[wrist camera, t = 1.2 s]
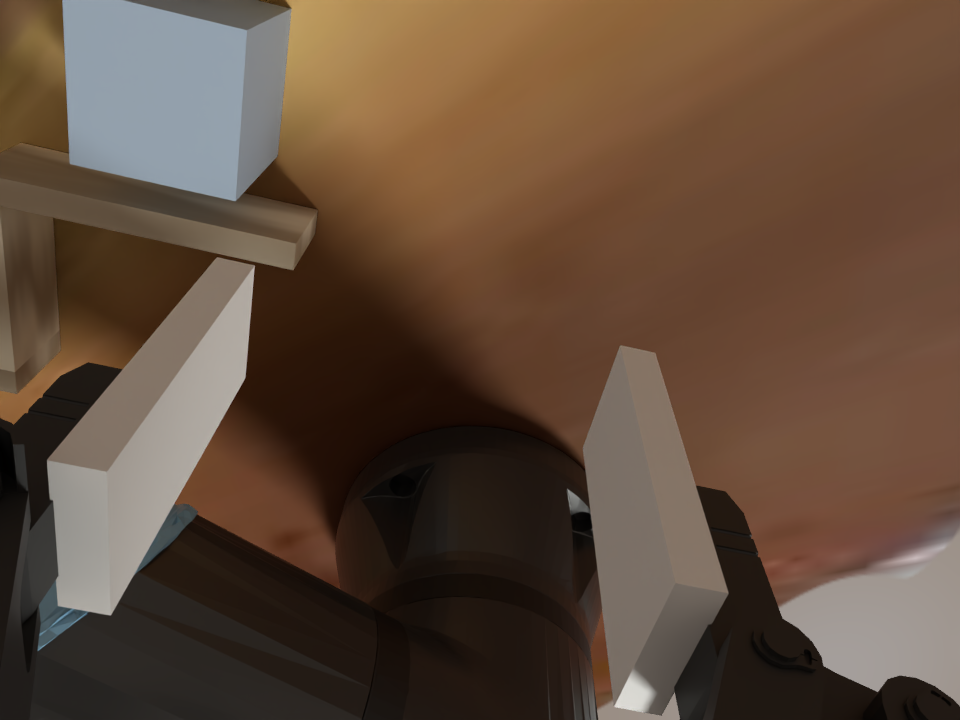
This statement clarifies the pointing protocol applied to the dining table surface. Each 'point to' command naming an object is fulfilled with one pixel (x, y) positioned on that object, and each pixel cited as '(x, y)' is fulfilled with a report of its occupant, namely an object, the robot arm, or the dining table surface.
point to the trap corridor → (118, 207)
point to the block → (176, 89)
